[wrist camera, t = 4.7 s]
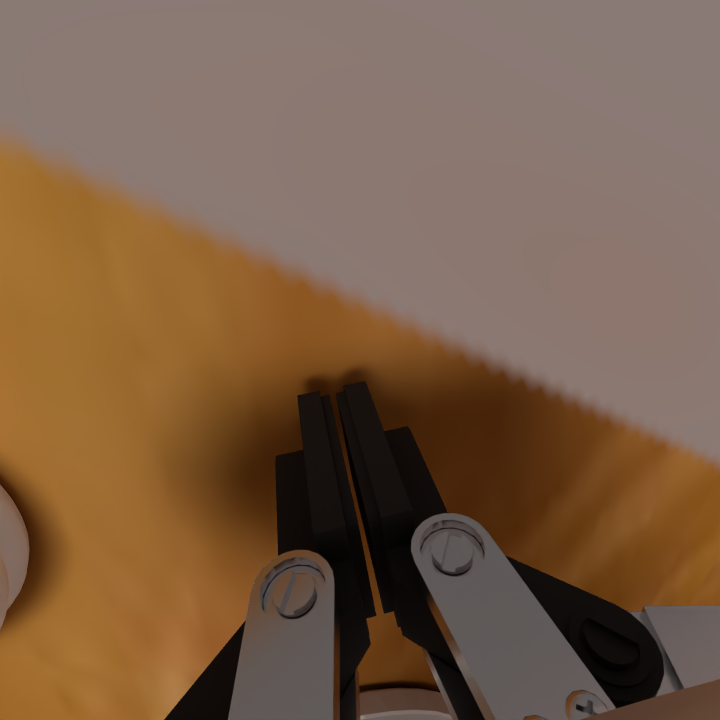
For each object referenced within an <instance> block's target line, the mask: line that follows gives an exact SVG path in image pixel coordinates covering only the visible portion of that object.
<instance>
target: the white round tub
mask: <svg viewBox="0 0 720 720" xmlns="http://www.w3.org/2000/svg"><path fill="white" fill-rule="evenodd" d="M29 551H30V548H29V539H28V532H27V530H26V527H25V524H24V521H23V518H22V516H21V514H20V512H19V510H18V509H17V507H16V505H15V503H14V502H13V500H12V498H11V497H10V496H9V495H8V493H7V492H6V491H5V490H4V488H3V487H2V486H1V485H0V630H1V627H2V624H3V622H4V619H5V616H6V611H7V609H8V608H9V607H10V606H11V605H12V603H13V602H14V600H15V599H16V597H17V596H18V594H19V593H20V591H21V588H22V586H23V583H24V580H25V578H26V573H27V566H28V559H29Z"/></svg>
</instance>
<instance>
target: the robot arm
mask: <svg viewBox="0 0 720 720" xmlns="http://www.w3.org/2000/svg"><path fill="white" fill-rule="evenodd" d="M343 387H344V392H340V393H336V396H337V401H338V407H339V412H340V417H341V422H342V428H343V433H344V438H345V443H346V448H347V454H348V459H349V464H350V469H351V475H352V479H353V484H354V488H355V492H356V497H357V501H358V505H359V509H360V513H361V518H362V522H363V526H364V530H365V535H366V539H367V543H368V547H369V551H370V556H371V560H372V564H373V568H374V573H375V577H376V581H377V585H378V589H379V594H380V598H381V602H382V606H383V610H384V614H385V613H388V612H392V611H394V614H395V617H396V621H397V625H398V627H401V631H402V635H403V636H405V637H406V638H408V639H410V640H411V641H413V642H414V643H416V644H418V645H419V646H421V647H422V650H423V653H424V656H425V658H426V661H427V663H428V665H429V667H430V670H431V672H432V674H433V676H434V679H435V681H436V683H437V685H438V688H439V690H440V692H441V693H440V692H437V691H431V690H426V689H420V688H389V689H377V690H369V691H364V692H359V672H358V665H359V663H360V661H361V660H362V658H363V656H364V655H365V653H366V651H367V649H368V648H369V646H370V644H371V643H370V638H369V630H368V625H367V620H366V618H370V617H373V616H376V612H375V607H374V602H373V597H372V592H371V587H370V581H369V576H368V571H367V566H366V561H365V556H364V551H363V546H362V541H361V535H360V530H359V526H358V521H357V516H356V512H355V507H354V503H353V498H352V494H351V489H350V485H349V481H348V476H347V472H346V467H345V463H344V458H343V454H342V449H341V445H340V441H339V436H338V432H337V427H336V423H335V418H334V414H333V410H332V405H331V401H330V396H329V395H326V396H322V397H321V396H320V392H319V391H317V392H312V393H307V394H303V395H298V396H297V397H298V406H299V415H300V424H301V432H302V441H303V450H300V451H296V452H291V453H287V454H283V455H278V456H276V461H275V466H276V498H277V531H278V556H277V557H276V558H274V559H272V560H271V561H270V562H269V563H268V564H267V565H266V566H265V567H263V568H262V570H261V571H260V573H259V574H258V576H257V577H256V579H255V581H254V584H253V587H252V590H251V594H250V600H249V605H248V611H247V616H246V621H245V622H244V623H243V624H242V626H241V627H240V628H239V629H238V630H237V632H236V633H235V634H234V635H233V637H232V638H231V639H230V640H229V641H228V643H227V644H226V645H225V646H224V647H223V649H222V650H221V651H220V652H219V654H218V655H217V656H216V657H215V658H214V660H213V661H212V662H211V663H210V665H209V666H208V667H207V668H206V669H205V671H204V672H203V673H202V674H201V675H200V677H199V678H198V679H197V680H196V682H195V683H194V684H193V685H192V686H191V688H190V689H189V690H188V691H187V693H186V694H185V695H184V696H183V697H182V699H181V700H180V701H179V702H178V704H177V705H176V706H175V707H174V708H173V710H172V711H171V712H170V713H169V714H168V716H167V717H166V718H165V719H164V720H720V605H715V606H645V607H643V610H642V612H627V611H626V610H624V609H622V608H620V607H619V606H617V605H615V604H613V603H610V602H608V601H606V600H604V599H601V598H599V597H597V596H595V595H592V594H590V593H588V592H586V591H583V590H581V589H579V588H577V587H575V586H572V585H570V584H568V583H566V582H563V581H561V580H559V579H557V578H554V577H552V576H550V575H548V574H545V573H543V572H541V571H539V570H536V569H534V568H532V567H530V566H527V565H525V564H523V563H521V562H518V561H516V560H514V559H512V558H509V557H507V556H505V555H504V554H503V552H502V551H501V550H500V548H499V547H498V546H497V544H496V543H495V542H494V540H493V539H492V537H491V536H490V535H489V533H488V532H487V531H486V530H485V529H484V528H483V527H482V526H481V525H480V524H479V523H478V522H476V521H474V520H473V519H471V518H469V517H467V516H463V515H460V514H456V513H448V512H447V510H446V508H445V506H444V503H443V501H442V499H441V497H440V495H439V492H438V490H437V488H436V486H435V484H434V481H433V479H432V477H431V475H430V473H429V470H428V468H427V466H426V464H425V462H424V459H423V457H422V455H421V453H420V450H419V448H418V446H417V444H416V442H415V439H414V437H413V435H412V433H411V431H410V429H409V428H408V427H407V426H406V427H402V428H398V429H393V430H389V431H383V428H382V425H381V422H380V420H379V417H378V414H377V412H376V409H375V406H374V403H373V401H372V398H371V395H370V393H369V390H368V387H367V385H366V382H365V381H364V382H359V383H354V384H350V385H345V386H343Z"/></svg>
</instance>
